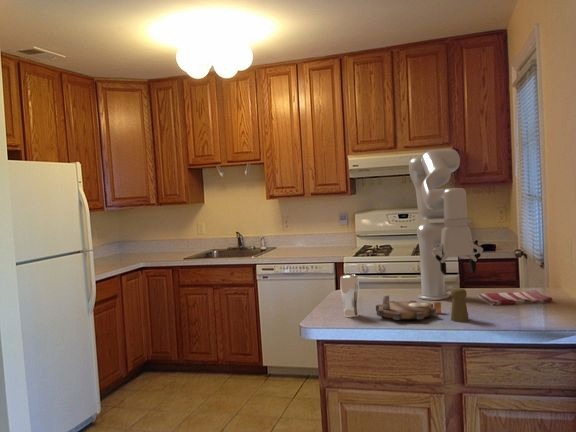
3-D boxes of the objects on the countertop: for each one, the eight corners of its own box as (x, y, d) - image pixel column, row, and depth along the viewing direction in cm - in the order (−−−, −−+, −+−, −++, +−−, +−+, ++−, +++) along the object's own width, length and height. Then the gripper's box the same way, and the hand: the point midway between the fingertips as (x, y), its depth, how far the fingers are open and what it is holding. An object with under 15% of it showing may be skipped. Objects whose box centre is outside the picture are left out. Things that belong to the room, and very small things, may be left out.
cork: (469, 318, 175) (468, 287, 174) (468, 322, 169) (466, 290, 169) (451, 317, 177) (450, 286, 177) (449, 321, 172) (448, 289, 172)
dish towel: (554, 304, 190) (554, 297, 190) (492, 307, 191) (492, 300, 191) (533, 295, 207) (533, 288, 207) (477, 297, 208) (476, 291, 208)
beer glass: (355, 318, 183) (353, 278, 182) (338, 316, 187) (336, 277, 186) (363, 314, 189) (361, 274, 188) (346, 312, 193) (344, 274, 192)
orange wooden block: (424, 307, 193) (423, 297, 193) (444, 314, 182) (444, 303, 182) (382, 314, 186) (381, 304, 186) (401, 321, 175) (400, 310, 175)
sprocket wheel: (416, 303, 196) (415, 285, 196) (448, 315, 175) (447, 295, 175) (365, 309, 190) (364, 291, 190) (392, 322, 169) (391, 302, 169)
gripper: (477, 222, 175) (479, 270, 176) (428, 224, 176) (430, 272, 176) (485, 223, 168) (487, 273, 168) (433, 225, 169) (435, 276, 169)
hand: (458, 273), depth 172 cm, fingers open, 9 cm apart
